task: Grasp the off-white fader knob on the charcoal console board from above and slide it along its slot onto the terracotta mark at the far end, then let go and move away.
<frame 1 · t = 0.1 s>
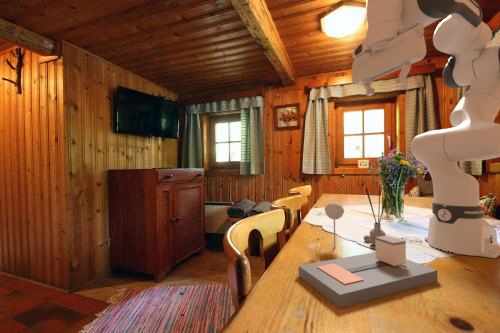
hand: (384, 89, 65), 48 cm above the table, tool pointing down, fingers open, 8 cm apart
fader knob: (390, 249, 58), point 6 cm above the table, slide at 0.0 cm
console board: (366, 278, 55), on the table
reed diffuser: (374, 246, 78), on the table
lollipop: (334, 247, 77), on the table
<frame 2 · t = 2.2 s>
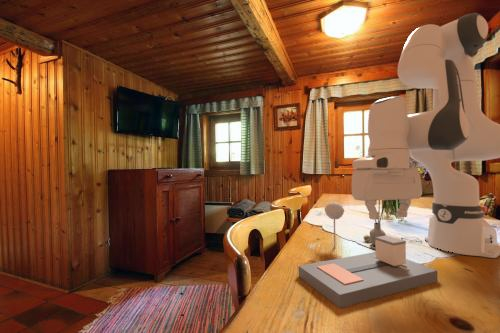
hand: (388, 218, 57), 14 cm above the table, tool pointing down, fingers open, 8 cm apart
nothing on the table moved.
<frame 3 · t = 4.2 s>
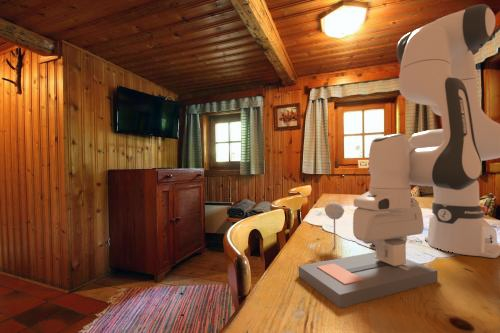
hand: (390, 255, 58), 4 cm above the table, tool pointing down, fingers closed on fader knob, 4 cm apart
fader knob: (390, 249, 58), point 6 cm above the table, slide at 0.0 cm, touching gripper
everything else where it was.
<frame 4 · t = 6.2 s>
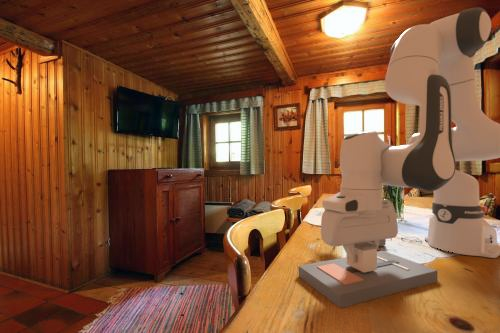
hand: (361, 260, 54), 5 cm above the table, tool pointing down, fingers closed on fader knob, 4 cm apart
fader knob: (361, 255, 54), point 6 cm above the table, slide at 9.4 cm, touching gripper
everything else where it was.
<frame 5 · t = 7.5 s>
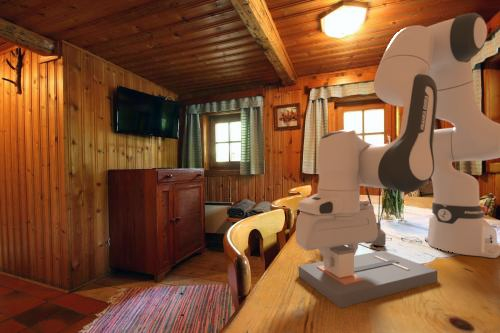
hand: (338, 264, 52), 5 cm above the table, tool pointing down, fingers closed on fader knob, 4 cm apart
fader knob: (338, 259, 52), point 6 cm above the table, slide at 16.0 cm, touching gripper
everything else where it was.
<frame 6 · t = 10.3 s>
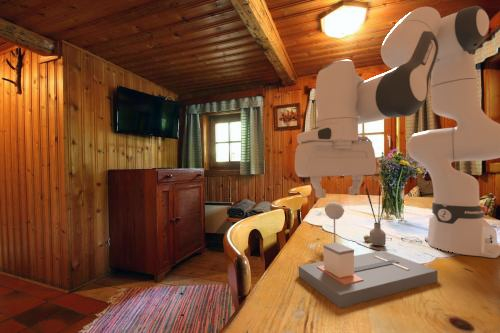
hand: (337, 196, 52), 20 cm above the table, tool pointing down, fingers open, 8 cm apart
fader knob: (338, 259, 52), point 6 cm above the table, slide at 16.1 cm
everything else where it was.
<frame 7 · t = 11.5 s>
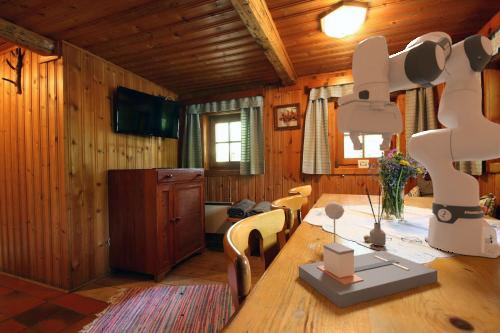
hand: (371, 150, 63), 31 cm above the table, tool pointing down, fingers open, 8 cm apart
nothing on the table moved.
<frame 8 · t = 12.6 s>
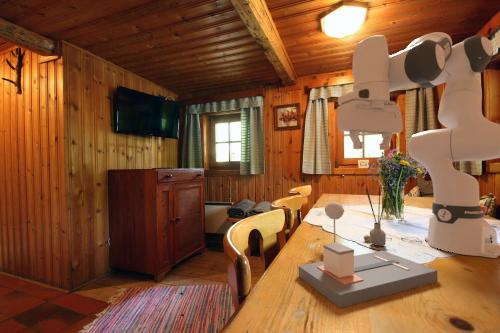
hand: (371, 149, 63), 31 cm above the table, tool pointing down, fingers open, 8 cm apart
nothing on the table moved.
at the end: fader knob slide at 16.1 cm; the gripper is holding nothing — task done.
